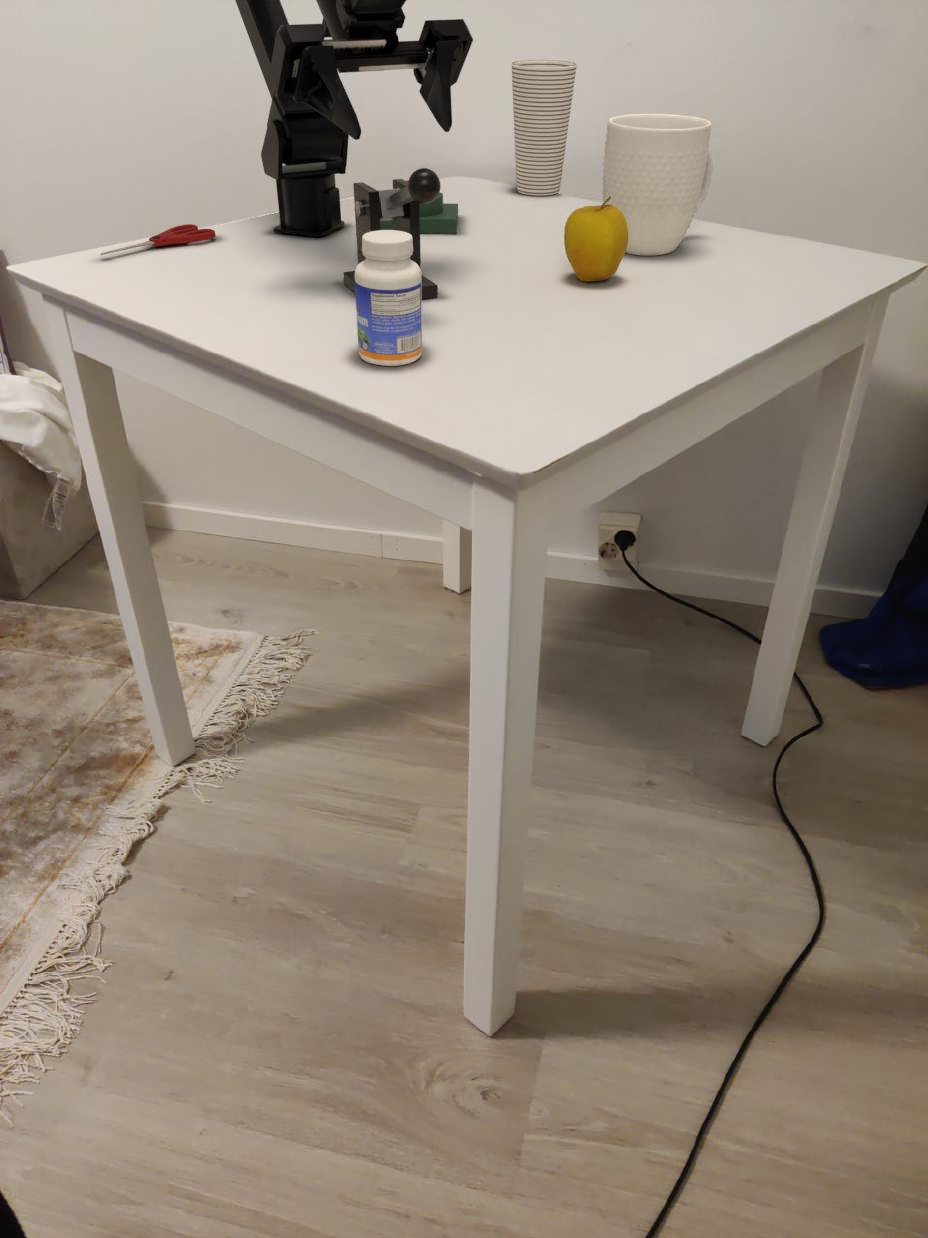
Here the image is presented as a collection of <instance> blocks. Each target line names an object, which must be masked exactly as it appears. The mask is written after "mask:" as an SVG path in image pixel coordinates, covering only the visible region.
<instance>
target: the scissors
mask: <svg viewBox="0 0 928 1238" xmlns="http://www.w3.org/2000/svg"><path fill="white" fill-rule="evenodd" d="M214 238H216V231H215V229H213V228H198V225H196V224H193V223H192V224H191V223H189V224H188V223H187V224H181V225H176V226H174V227H170V228H169V229H166V230H165V231H162V232H160V233H158V234H155V235H153V236H150V237H149V238H148V240H146V241H143V242H139V243H136V244H133V245H129V246H124V247H120V248H116V249H112V250H108V251H103V252H100V254H99V255H100V256H104V255H109V254H113V253H117V252H121V251H126V250H131V249H135V248H141V247H145V246H152V247H161V246H169V245H178V244H186V243H195V242H203V241H209V240H212V239H214Z"/></svg>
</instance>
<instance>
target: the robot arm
mask: <svg viewBox="0 0 928 1238" xmlns="http://www.w3.org/2000/svg"><path fill="white" fill-rule="evenodd" d="M234 1H235V4H236V6H237V9H238V11H239V15H240V17H241V19H242V23H243V25H244V28H245V30H246V33H247V36H248V39H249V41H250V44H251V47H252V49H253V52H254V55H255V58H256V60H257V63H258V66H259V69H260V71H261V73H262V77H263V79H264V82H265V84H266V87H267V90H268V92H269V95H270V99H271V102H270V108H269V111H268V112H269V113H268V117H267V123H266V130H265V135H264V140H263V144H262V148H261V152H260V158H261V163H262V167H263V172H264V174H265V175H266V176H268V177H269V178H272V179H274V180H275V185H276V187H275V188H276V194H277V195H276V196H277V205H278V206H277V207H278V215H279V224H278V225H276V226H274V227H273V232H274V233H280V234H289V235H299V236H308V237H317V238H321V237H324V236H326V235H328V234H331V233H333V232H334V231H337V230H338V229H341V228H342V227H344V226H345V225H346V224H345V220H342V211H341V196H340V189H339V187H337V186H336V175H338V174H340V175H346V173H347V171H346V170H347V165H348V164H347V163H348V149H349V136H350V137H351V139H353V140H356V141H357V140H360V138H361V135H362V128H361V124H360V122H359V118H358V115H357V113H356V111H355V108H354V107H353V104H352V101H351V100H350V98H349V95H348V93H347V90H346V89H345V86H344V83H343V82H342V80H341V77H340V75H339V74H342V73H344V74H345V73H362V72H380V71H381V72H383V71H394V70H395V71H397V70H413V75H414V78H415V80H416V83H418V84H419V85H420V88H419V92H418V93H419V94H420V96H421V98H422V99H423V101H424V102H425V104H426V106H427V107H428V109H429V111H430V112H431V114H432V116H433V118H434V119H435V121H436V122H437V124H438V125H439V127H440V128H441V129H442V130H443V132H445V133H450V130H451V129H452V126H453V111H452V110H453V109H452V86H454V85H455V84H456V83H457V82H458V80H459V79H460V75H461V72H462V69H463V67H464V64H465V62H466V59H467V57H468V55H469V52H470V49H471V48H472V45H473V42H474V38H473V36H472V33H471V31H470V29H469V27H468V24H467V23H466V21H465V20H464V19H463V18H456V19H455V18H454V19H452V18H451V19H428V20H427V19H426V20H424V23H423V25H422V29H421V33H420V35H419V38H418V40H400V41H399V35H398V33H397V32H398V29H402V28H403V27H404V24H405V21H406V14H405V13H404V10H403V7H404V5H405V3H406V2H407V0H316V3H317V5H318V8H319V10H320V13H321V15H322V21H321V23H303V24H301V23H299V24H289V20H288V18H287V15H286V13H285V10H284V8H283V7H284V6H283V5H282V3H281V0H234ZM325 38H330V39H325Z"/></svg>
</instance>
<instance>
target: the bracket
mask: <svg viewBox="0 0 928 1238" xmlns="http://www.w3.org/2000/svg"><path fill="white" fill-rule="evenodd" d="M407 186H408V182H407V180H405V179H404V178H397V179H396V178H394V179H392V189H400V190H401V189H403V188H405V187H407ZM353 201H354V218H355V234H356V235H355V236H356V237H355V238H356V252H357V253H356V254H357V265H358V264H360V263H361V262H362V261H364V260H365V259H366V257H365V256H364V255H363V252H362V236H363V235H364V234H365V233H368V232H372V231H378V230H381V229H380V206H379V190H377V189H375V188H374V187H372V186H370V185H368V184H366V182H365V183H364V182H363V181H361V182H353ZM403 212H404V216H402V217H400V218H398V219H395V220H394V230H397V231H403V232H407V233H409V234H411V235H412V238H413V254H412V255H411V256H410V260H412V261H414V262H415V263H416V264H418V266H419V267H420V269H421V270H422V265H421V262H422V261H421V258H422V257H421V255H422V254H421V233H420V207H419V203H418V202H416V201H415V200H413V201H411V202H409V203H407V204H405V205H403ZM342 275H343V284H344V285H345V286H346V287H347V288H348V289H350V290H351V291H352V292H353V293H354V294H356V292H355V270H349V271H343V274H342ZM421 278H422V300H428V299H434V298H438V297H439V295H438V294H439V293H438V290H439V289H438V284H437V283H435V282H433V281H432V280H431V279H429V278H428V277H426V276H425V275H423V274H422V273H421Z"/></svg>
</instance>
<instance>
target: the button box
mask: <svg viewBox="0 0 928 1238" xmlns="http://www.w3.org/2000/svg"><path fill="white" fill-rule="evenodd" d="M419 207H420V234H436V235H437V234H442V235H443V234H445V235H446V234H447V235H455V234H457V229H458V221H459V203H444V194H443V192H441V191H440V192H439V195H438V197H437V198H436V199H435V200H434V201H433V202H431V203H428V204H421V203H419ZM380 229H381V230H394V220H390V221H380Z"/></svg>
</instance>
